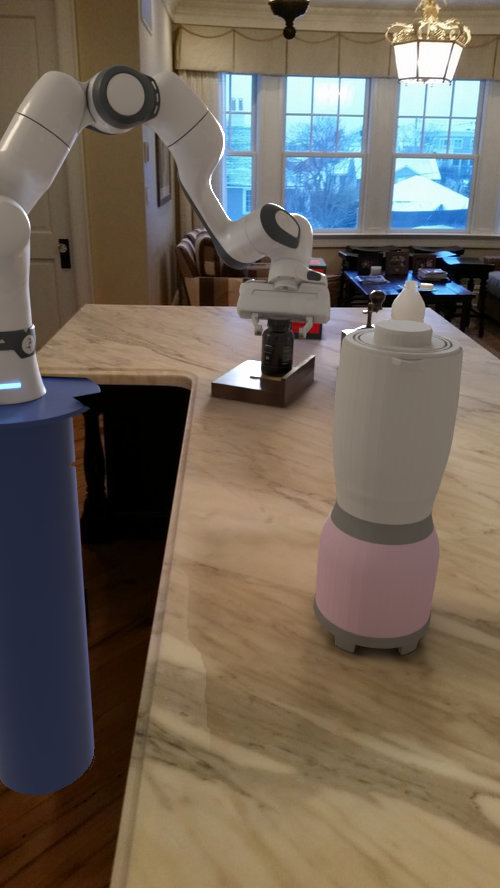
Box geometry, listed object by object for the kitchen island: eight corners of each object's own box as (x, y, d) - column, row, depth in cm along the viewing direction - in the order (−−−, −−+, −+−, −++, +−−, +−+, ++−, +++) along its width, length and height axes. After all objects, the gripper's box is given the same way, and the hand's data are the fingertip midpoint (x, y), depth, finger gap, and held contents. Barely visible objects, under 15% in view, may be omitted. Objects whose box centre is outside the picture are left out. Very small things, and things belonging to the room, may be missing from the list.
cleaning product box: (287, 325, 210) (291, 256, 203) (317, 326, 210) (322, 257, 203) (289, 338, 195) (293, 264, 188) (321, 339, 195) (326, 265, 188)
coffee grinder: (395, 380, 160) (404, 301, 154) (348, 380, 159) (355, 300, 152) (376, 362, 175) (384, 289, 168) (333, 362, 173) (339, 288, 167)
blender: (440, 662, 69) (492, 345, 58) (316, 657, 70) (343, 339, 58) (410, 575, 84) (447, 307, 72) (308, 571, 84) (328, 303, 72)
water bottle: (374, 401, 145) (387, 278, 136) (398, 397, 148) (413, 277, 139) (402, 414, 138) (418, 286, 129) (427, 410, 141) (444, 284, 132)
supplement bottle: (254, 371, 152) (256, 316, 147) (278, 367, 156) (281, 313, 151) (274, 379, 147) (276, 322, 142) (298, 374, 151) (302, 318, 146)
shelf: (211, 396, 145) (211, 368, 143) (247, 372, 163) (248, 346, 160) (284, 407, 140) (285, 378, 138) (313, 381, 157) (315, 355, 155)
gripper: (239, 270, 153) (229, 324, 148) (333, 275, 150) (327, 330, 145) (242, 287, 159) (233, 340, 154) (333, 293, 156) (327, 346, 151)
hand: (279, 335), depth 149 cm, fingers open, 8 cm apart
